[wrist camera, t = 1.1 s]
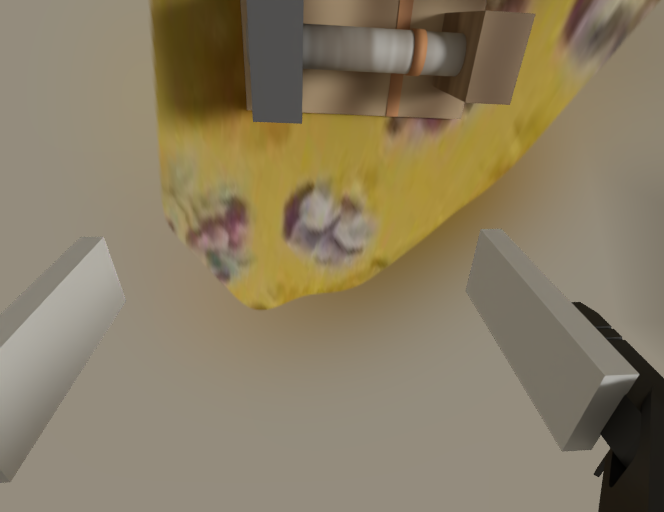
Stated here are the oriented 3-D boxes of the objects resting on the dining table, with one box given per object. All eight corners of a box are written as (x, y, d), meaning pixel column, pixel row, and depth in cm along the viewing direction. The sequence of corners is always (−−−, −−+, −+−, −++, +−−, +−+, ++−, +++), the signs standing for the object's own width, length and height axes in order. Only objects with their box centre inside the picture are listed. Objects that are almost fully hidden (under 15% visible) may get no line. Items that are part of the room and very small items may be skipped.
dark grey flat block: (264, 98, 30) (253, 121, 23) (259, -26, 26) (244, -43, 19) (302, 100, 30) (301, 123, 24) (303, -23, 26) (303, -39, 19)
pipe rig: (248, 107, 32) (232, 133, 25) (239, -43, 27) (215, -67, 19) (456, 116, 33) (498, 143, 26) (487, -25, 28) (550, -41, 21)
